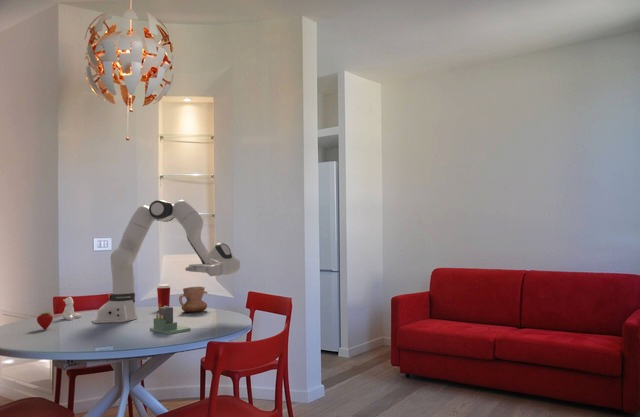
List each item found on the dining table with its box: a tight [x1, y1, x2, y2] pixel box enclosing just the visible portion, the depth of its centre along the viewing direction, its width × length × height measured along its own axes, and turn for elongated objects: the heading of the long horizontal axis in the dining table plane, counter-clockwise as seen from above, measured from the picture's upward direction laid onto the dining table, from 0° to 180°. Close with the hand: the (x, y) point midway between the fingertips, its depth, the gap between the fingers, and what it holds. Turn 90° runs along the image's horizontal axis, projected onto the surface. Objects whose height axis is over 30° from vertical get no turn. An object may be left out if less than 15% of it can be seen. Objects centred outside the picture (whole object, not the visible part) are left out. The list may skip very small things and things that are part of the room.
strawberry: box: [36, 310, 54, 330], centre depth 262 cm, size 6×8×10 cm
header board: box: [149, 313, 191, 335], centre depth 255 cm, size 12×16×8 cm
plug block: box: [158, 305, 174, 324], centre depth 254 cm, size 5×5×11 cm
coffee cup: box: [156, 283, 171, 310], centre depth 317 cm, size 8×8×15 cm
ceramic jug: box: [178, 286, 209, 314], centre depth 309 cm, size 18×14×14 cm
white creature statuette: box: [61, 296, 82, 321], centre depth 292 cm, size 10×9×12 cm
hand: (191, 269), depth 268 cm, fingers open, 8 cm apart
